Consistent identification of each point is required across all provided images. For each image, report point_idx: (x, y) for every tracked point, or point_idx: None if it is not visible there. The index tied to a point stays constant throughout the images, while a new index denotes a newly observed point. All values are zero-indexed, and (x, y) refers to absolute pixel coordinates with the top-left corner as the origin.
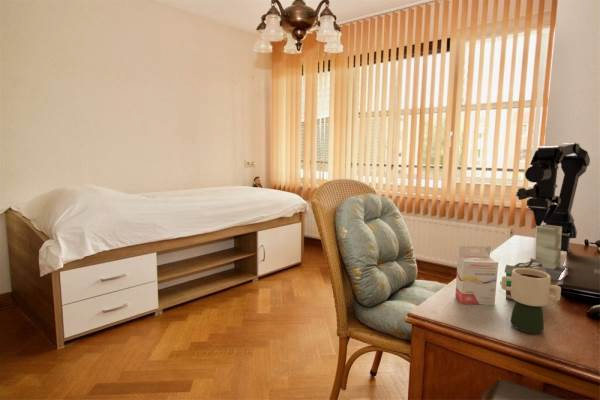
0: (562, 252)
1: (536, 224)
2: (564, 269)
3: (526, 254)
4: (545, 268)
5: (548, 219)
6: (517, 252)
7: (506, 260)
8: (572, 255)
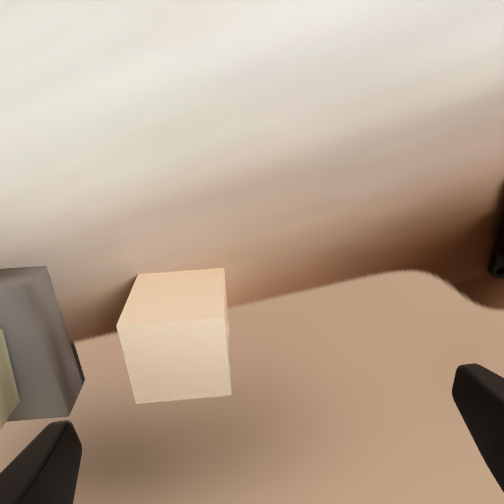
0: (192, 388)
1: (36, 444)
2: None
3: (306, 113)
4: None
5: (487, 463)
6: (316, 38)
7: (9, 79)
8: (474, 296)
